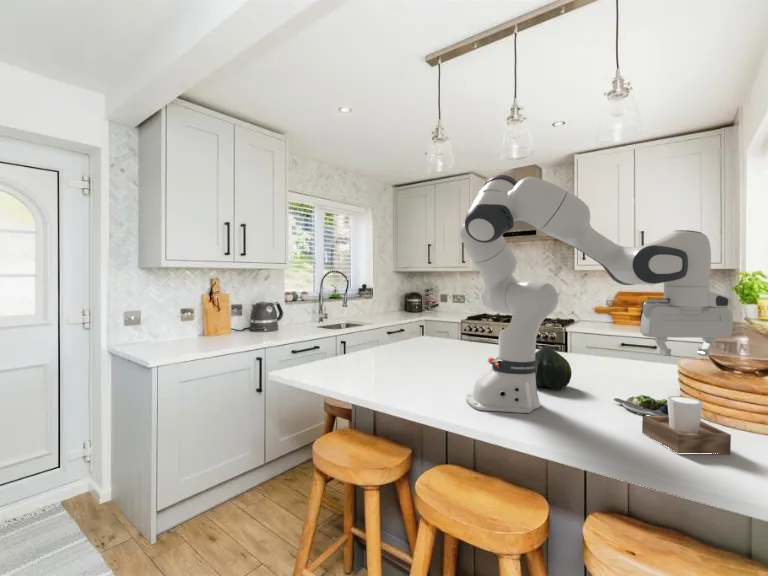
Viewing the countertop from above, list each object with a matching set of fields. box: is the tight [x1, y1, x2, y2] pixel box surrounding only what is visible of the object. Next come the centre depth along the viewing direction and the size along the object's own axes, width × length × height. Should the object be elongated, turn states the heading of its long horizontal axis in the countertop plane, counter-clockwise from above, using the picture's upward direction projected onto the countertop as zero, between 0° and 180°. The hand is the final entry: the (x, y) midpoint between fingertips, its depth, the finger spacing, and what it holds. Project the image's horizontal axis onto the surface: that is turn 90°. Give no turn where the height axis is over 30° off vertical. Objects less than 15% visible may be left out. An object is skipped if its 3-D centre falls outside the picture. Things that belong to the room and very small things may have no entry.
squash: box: [535, 345, 572, 391], centre depth 142 cm, size 14×15×15 cm
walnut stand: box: [641, 415, 732, 455], centre depth 95 cm, size 12×12×4 cm
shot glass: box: [666, 395, 704, 433], centre depth 94 cm, size 7×7×7 cm
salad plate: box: [613, 394, 669, 416], centre depth 118 cm, size 19×18×5 cm
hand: (684, 355), depth 94 cm, fingers open, 8 cm apart
